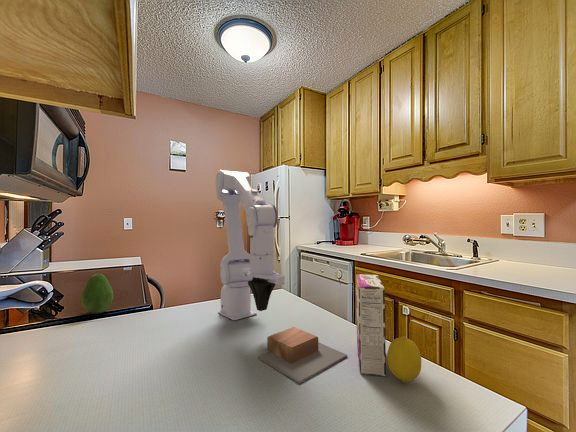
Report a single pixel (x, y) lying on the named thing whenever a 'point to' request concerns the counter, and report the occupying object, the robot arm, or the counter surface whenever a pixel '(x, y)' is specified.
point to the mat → (305, 363)
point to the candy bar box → (370, 324)
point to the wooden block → (292, 344)
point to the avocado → (97, 294)
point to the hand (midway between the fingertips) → (261, 309)
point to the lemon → (404, 359)
